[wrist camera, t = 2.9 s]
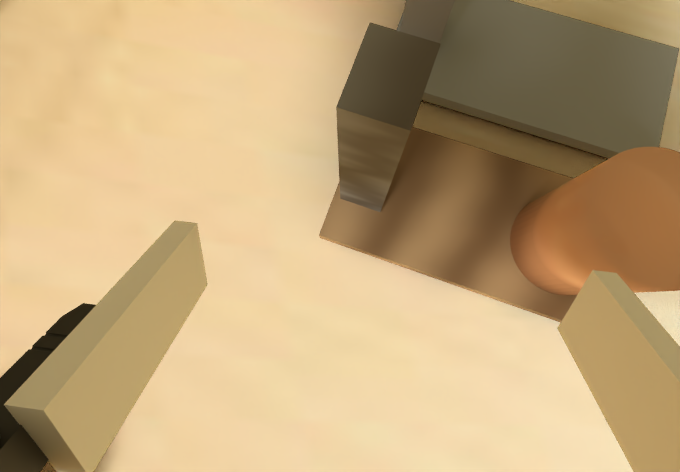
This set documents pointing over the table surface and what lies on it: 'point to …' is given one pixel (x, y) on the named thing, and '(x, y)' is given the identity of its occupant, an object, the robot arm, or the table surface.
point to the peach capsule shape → (606, 226)
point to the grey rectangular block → (545, 73)
